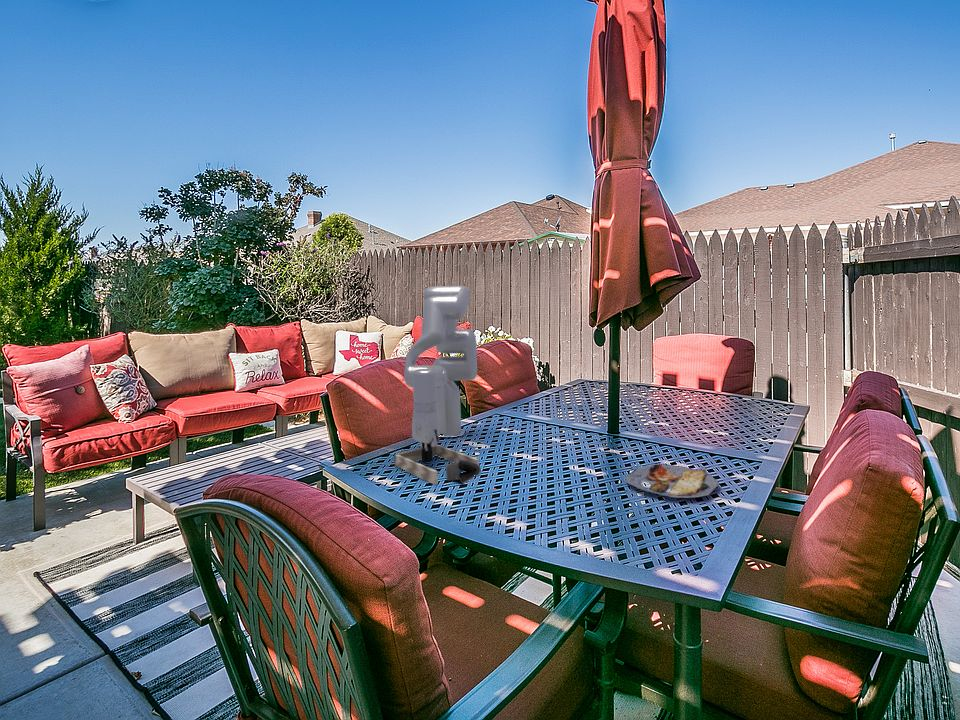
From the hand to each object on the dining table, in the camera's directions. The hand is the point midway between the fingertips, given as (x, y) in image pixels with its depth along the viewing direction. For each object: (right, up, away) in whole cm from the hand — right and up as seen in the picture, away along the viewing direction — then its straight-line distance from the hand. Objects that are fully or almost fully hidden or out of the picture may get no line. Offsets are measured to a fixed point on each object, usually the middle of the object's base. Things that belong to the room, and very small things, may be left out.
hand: (427, 461), depth 168 cm
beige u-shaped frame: (+4, -2, -4) cm, 6 cm away
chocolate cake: (+12, -3, -11) cm, 16 cm away
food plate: (+72, -3, -22) cm, 76 cm away
